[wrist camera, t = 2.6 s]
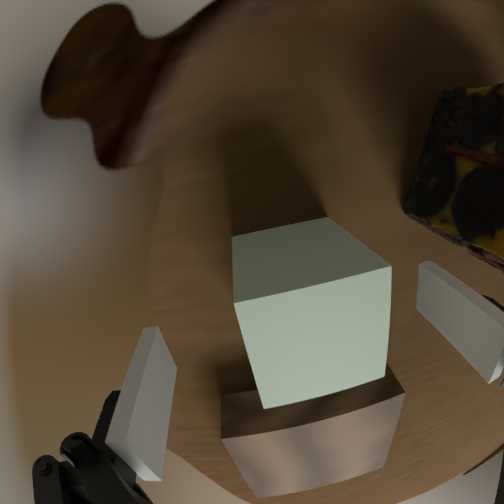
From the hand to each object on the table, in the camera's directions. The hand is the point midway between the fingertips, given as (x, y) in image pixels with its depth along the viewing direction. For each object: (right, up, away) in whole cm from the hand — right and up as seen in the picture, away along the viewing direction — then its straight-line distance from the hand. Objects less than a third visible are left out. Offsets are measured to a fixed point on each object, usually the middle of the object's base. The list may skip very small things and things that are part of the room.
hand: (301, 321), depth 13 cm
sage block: (0, +2, +5) cm, 6 cm away
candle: (+14, +9, +4) cm, 17 cm away
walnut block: (+3, -14, +12) cm, 18 cm away
